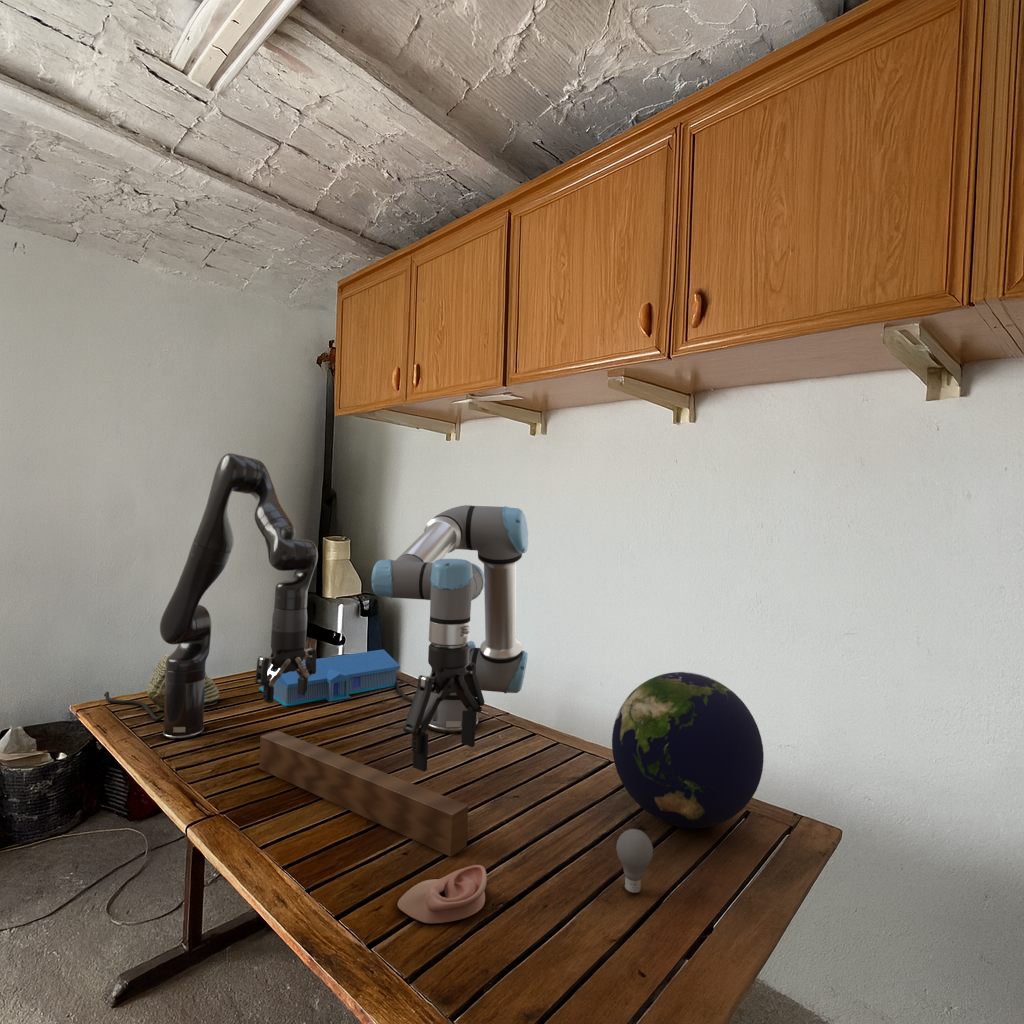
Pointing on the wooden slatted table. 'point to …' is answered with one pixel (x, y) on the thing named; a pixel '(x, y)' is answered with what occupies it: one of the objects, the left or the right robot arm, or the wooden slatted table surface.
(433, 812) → the beam
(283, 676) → the model building
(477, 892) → the anatomical model
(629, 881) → the light bulb
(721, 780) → the globe
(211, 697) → the fossil
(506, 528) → the right robot arm
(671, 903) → the wooden slatted table surface
